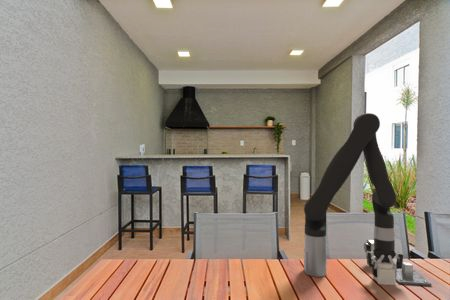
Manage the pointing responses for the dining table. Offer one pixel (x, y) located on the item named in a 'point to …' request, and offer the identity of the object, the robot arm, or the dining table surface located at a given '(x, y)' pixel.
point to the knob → (386, 274)
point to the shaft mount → (410, 276)
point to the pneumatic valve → (369, 247)
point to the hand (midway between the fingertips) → (384, 277)
